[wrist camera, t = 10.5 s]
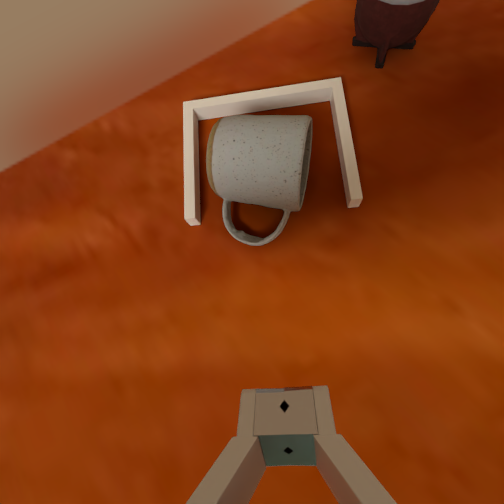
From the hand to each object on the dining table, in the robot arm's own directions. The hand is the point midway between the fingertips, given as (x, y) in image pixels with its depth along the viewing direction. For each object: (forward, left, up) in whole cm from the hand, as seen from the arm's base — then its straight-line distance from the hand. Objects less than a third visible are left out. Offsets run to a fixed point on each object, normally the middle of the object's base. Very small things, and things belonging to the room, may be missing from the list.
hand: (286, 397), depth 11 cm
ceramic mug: (+8, -13, -16) cm, 22 cm away
